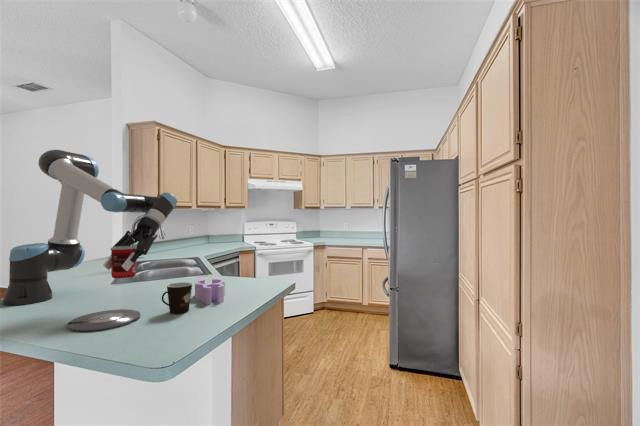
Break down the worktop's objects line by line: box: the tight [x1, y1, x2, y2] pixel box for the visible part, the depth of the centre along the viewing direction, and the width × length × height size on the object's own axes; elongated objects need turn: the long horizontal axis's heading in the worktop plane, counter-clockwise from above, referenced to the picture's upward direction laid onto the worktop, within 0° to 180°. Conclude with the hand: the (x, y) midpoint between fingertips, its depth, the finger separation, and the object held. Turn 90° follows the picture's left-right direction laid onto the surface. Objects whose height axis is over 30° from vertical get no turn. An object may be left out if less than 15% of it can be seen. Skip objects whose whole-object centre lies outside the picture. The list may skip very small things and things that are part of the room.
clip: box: [194, 277, 226, 305], centre depth 135 cm, size 20×12×7 cm, turn 28°
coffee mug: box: [161, 281, 193, 315], centre depth 114 cm, size 12×9×10 cm
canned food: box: [110, 245, 137, 279], centre depth 115 cm, size 8×8×11 cm
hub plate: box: [67, 308, 141, 333], centre depth 104 cm, size 20×20×1 cm
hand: (115, 268), depth 112 cm, fingers closed on canned food, 8 cm apart
